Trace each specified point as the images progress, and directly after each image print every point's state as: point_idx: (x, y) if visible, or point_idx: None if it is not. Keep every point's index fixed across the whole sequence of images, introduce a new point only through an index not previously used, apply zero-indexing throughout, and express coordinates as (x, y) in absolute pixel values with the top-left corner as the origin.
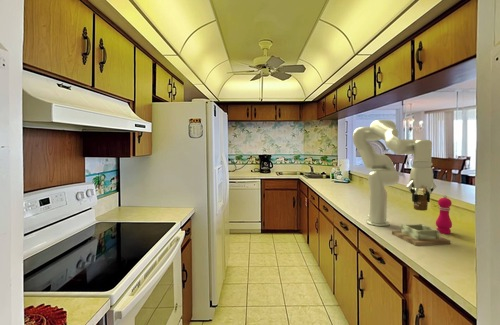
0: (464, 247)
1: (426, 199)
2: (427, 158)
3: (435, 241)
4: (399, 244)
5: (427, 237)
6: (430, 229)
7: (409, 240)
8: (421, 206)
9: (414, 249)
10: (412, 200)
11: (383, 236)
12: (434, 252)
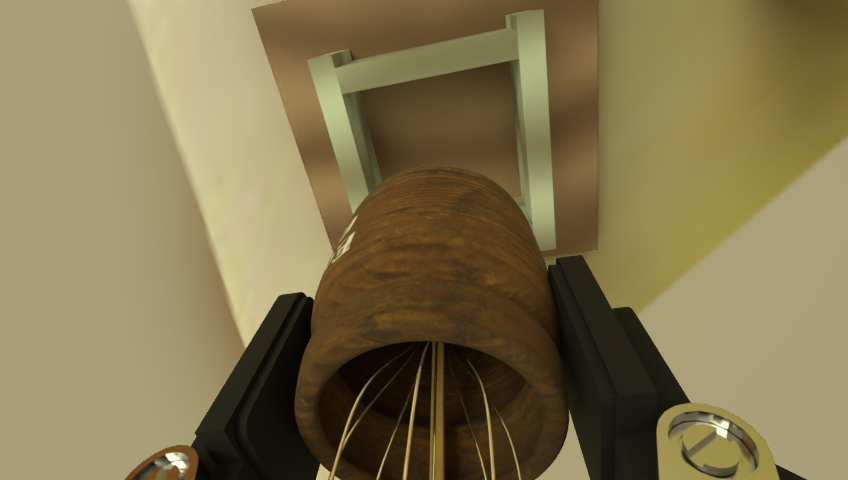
0: (624, 294)
1: (513, 417)
2: None
3: None
4: (262, 257)
5: None
6: (527, 180)
7: (329, 232)
8: (406, 351)
9: None
10: (279, 310)
11: (184, 92)
12: None
